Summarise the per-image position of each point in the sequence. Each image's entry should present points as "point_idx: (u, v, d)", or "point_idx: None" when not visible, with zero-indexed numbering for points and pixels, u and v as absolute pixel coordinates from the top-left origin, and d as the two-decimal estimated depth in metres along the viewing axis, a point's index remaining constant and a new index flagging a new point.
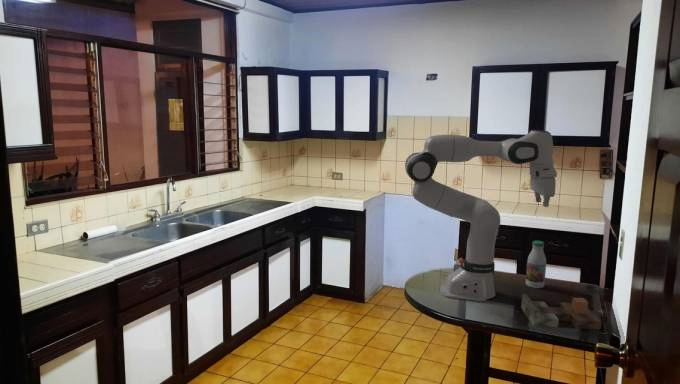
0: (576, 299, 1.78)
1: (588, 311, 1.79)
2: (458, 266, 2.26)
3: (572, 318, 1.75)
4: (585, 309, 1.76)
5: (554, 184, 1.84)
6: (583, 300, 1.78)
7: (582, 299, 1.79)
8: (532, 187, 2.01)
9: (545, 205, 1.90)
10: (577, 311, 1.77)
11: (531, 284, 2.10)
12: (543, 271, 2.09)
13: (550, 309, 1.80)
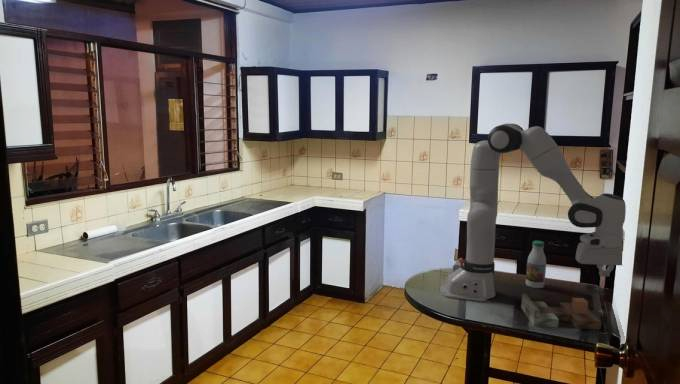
0: (576, 299, 1.78)
1: (588, 311, 1.79)
2: (457, 267, 2.26)
3: (572, 318, 1.75)
4: (585, 309, 1.76)
5: (581, 251, 1.73)
6: (583, 300, 1.78)
7: (582, 299, 1.79)
8: None
9: (599, 273, 1.76)
10: (577, 311, 1.77)
11: (531, 284, 2.10)
12: (543, 271, 2.09)
13: (550, 309, 1.80)
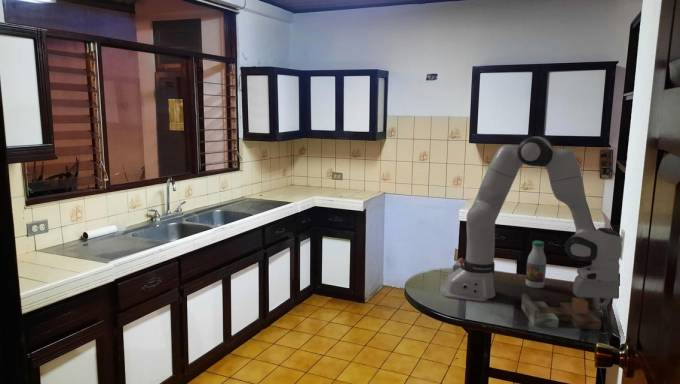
0: (576, 299, 1.78)
1: (588, 311, 1.79)
2: (457, 267, 2.25)
3: (572, 318, 1.75)
4: (585, 309, 1.76)
5: (578, 284, 1.75)
6: (583, 300, 1.78)
7: (582, 299, 1.79)
8: None
9: (596, 306, 1.78)
10: (577, 311, 1.77)
11: (531, 284, 2.10)
12: (543, 271, 2.09)
13: (550, 309, 1.80)
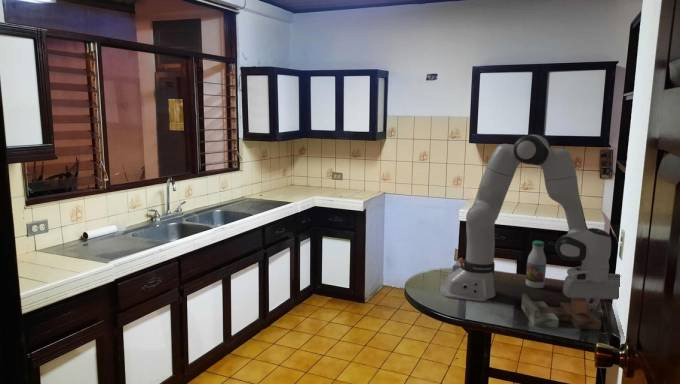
0: (575, 299, 1.78)
1: (588, 311, 1.79)
2: (457, 267, 2.25)
3: (572, 318, 1.75)
4: (585, 308, 1.76)
5: (568, 285, 1.76)
6: (582, 299, 1.78)
7: (581, 298, 1.79)
8: None
9: None
10: (577, 311, 1.77)
11: (531, 284, 2.10)
12: (543, 271, 2.09)
13: (550, 309, 1.80)
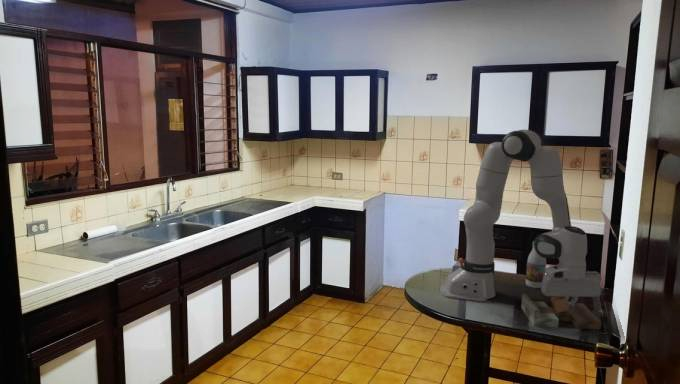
0: (554, 298, 1.79)
1: (588, 311, 1.79)
2: (457, 267, 2.24)
3: (572, 318, 1.75)
4: (565, 306, 1.77)
5: (546, 283, 1.76)
6: (560, 297, 1.78)
7: (560, 296, 1.79)
8: None
9: None
10: (558, 310, 1.77)
11: (531, 284, 2.10)
12: (543, 271, 2.09)
13: (550, 309, 1.80)
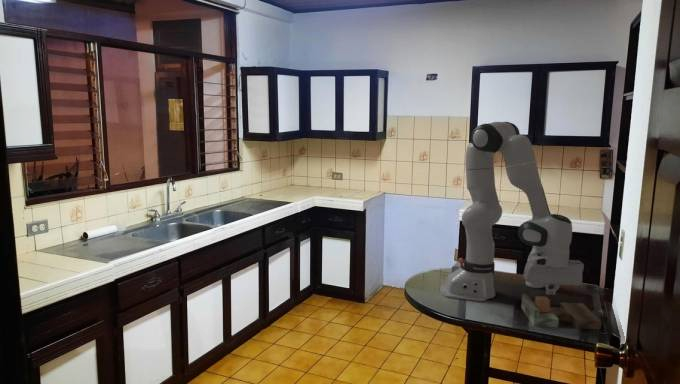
0: (539, 297, 1.79)
1: (588, 311, 1.79)
2: (456, 268, 2.24)
3: (572, 318, 1.75)
4: (547, 307, 1.77)
5: (528, 270, 1.76)
6: (545, 298, 1.79)
7: (545, 297, 1.80)
8: None
9: (546, 292, 1.80)
10: (539, 309, 1.78)
11: (531, 284, 2.10)
12: None
13: (550, 309, 1.80)
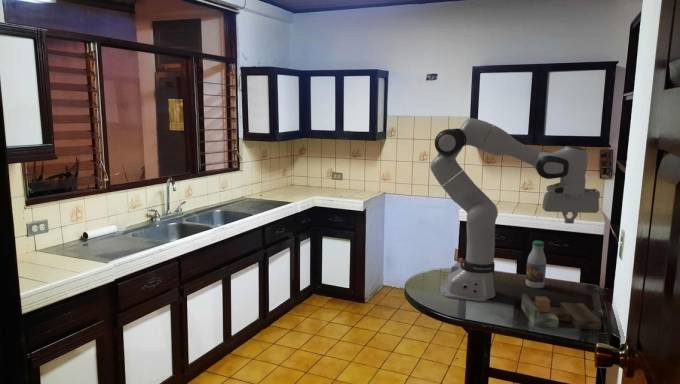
0: (539, 297, 1.79)
1: (588, 311, 1.79)
2: (456, 268, 2.23)
3: (572, 318, 1.75)
4: (547, 307, 1.77)
5: (547, 199, 1.86)
6: (545, 298, 1.79)
7: (544, 297, 1.80)
8: None
9: (564, 221, 1.89)
10: (539, 309, 1.78)
11: (531, 284, 2.10)
12: (543, 271, 2.09)
13: (550, 309, 1.80)
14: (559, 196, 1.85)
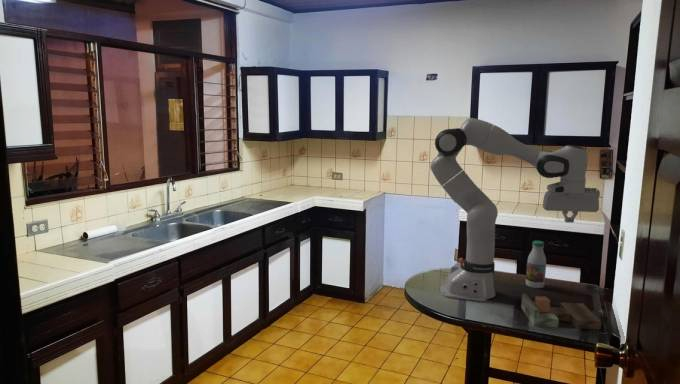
0: (539, 297, 1.79)
1: (588, 311, 1.79)
2: (455, 268, 2.23)
3: (572, 318, 1.75)
4: (547, 307, 1.77)
5: (547, 198, 1.87)
6: (545, 298, 1.79)
7: (544, 297, 1.80)
8: None
9: (565, 220, 1.90)
10: (539, 309, 1.78)
11: (531, 284, 2.10)
12: (543, 271, 2.09)
13: (550, 309, 1.80)
14: (559, 195, 1.86)
